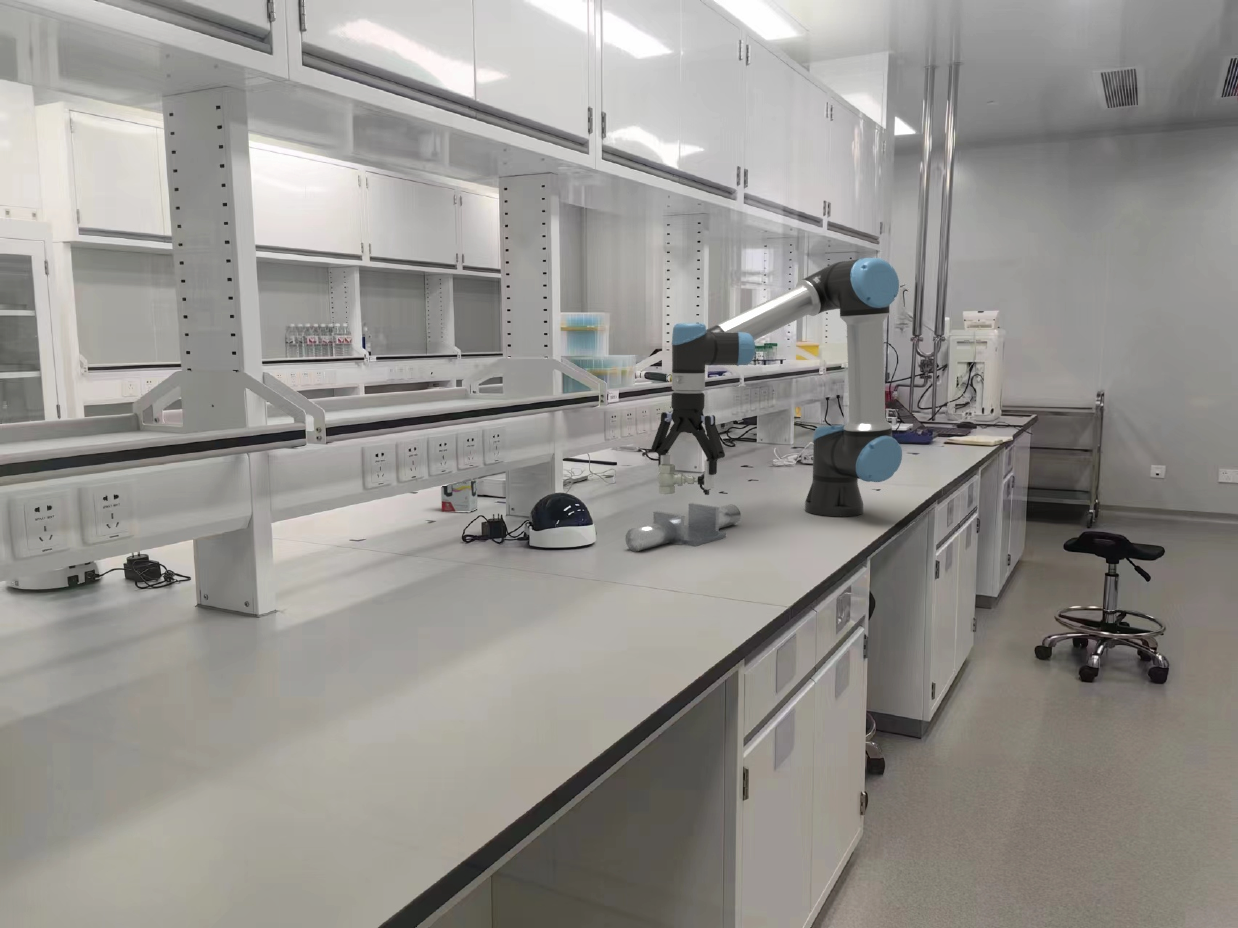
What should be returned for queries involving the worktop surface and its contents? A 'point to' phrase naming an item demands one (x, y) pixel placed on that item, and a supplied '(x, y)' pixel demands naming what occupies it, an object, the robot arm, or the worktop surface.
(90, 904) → the worktop surface
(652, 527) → the pipe run
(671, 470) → the valve
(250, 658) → the worktop surface
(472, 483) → the ink box
